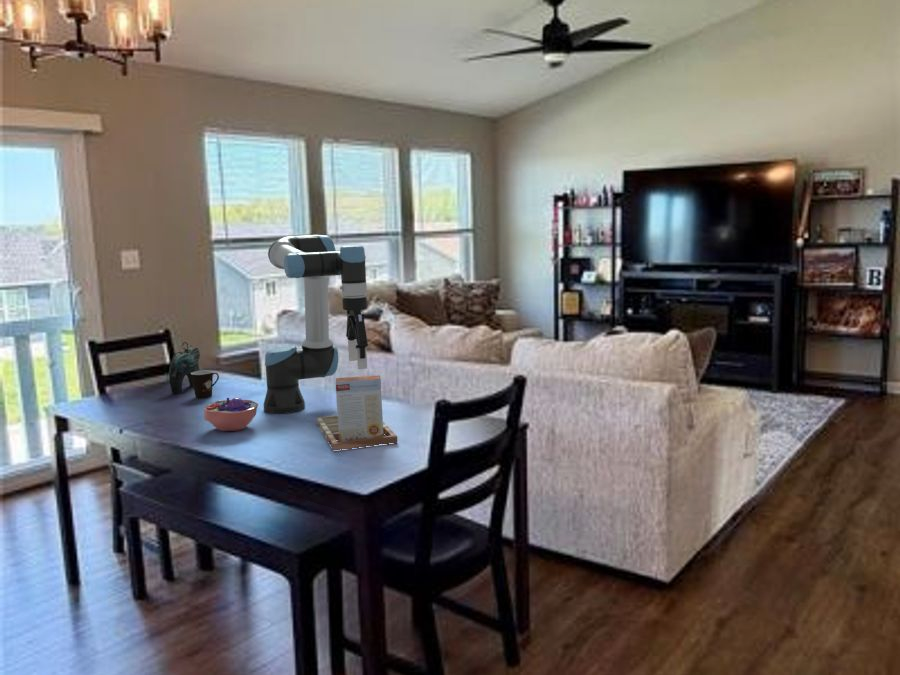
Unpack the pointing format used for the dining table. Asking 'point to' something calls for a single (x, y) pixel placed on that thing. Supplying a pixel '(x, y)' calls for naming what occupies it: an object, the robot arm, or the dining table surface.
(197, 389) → the coffee mug
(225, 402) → the cell model
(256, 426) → the dining table surface
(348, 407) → the cracker box
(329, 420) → the rail
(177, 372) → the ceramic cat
